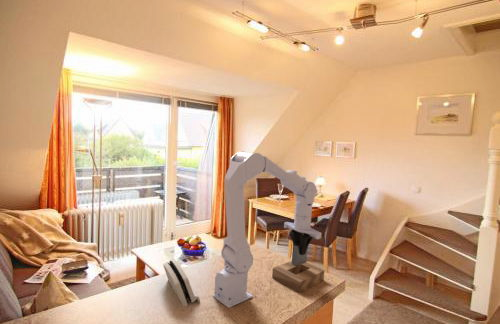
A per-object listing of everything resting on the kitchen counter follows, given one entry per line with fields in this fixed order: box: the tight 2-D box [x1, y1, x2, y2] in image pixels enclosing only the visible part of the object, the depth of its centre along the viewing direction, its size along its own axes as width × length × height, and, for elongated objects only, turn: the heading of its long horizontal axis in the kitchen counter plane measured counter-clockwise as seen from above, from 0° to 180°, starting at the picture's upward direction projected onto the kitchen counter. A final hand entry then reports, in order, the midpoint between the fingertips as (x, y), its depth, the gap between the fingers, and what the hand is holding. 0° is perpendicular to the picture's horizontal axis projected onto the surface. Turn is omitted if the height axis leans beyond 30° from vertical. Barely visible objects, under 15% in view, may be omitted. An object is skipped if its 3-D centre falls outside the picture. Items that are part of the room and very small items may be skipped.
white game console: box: [162, 258, 201, 307], centre depth 85 cm, size 17×5×10 cm, turn 31°
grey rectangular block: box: [291, 243, 309, 266], centre depth 97 cm, size 6×2×7 cm, turn 133°
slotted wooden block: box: [271, 260, 325, 293], centre depth 98 cm, size 14×12×4 cm
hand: (300, 253), depth 97 cm, fingers closed on grey rectangular block, 2 cm apart
